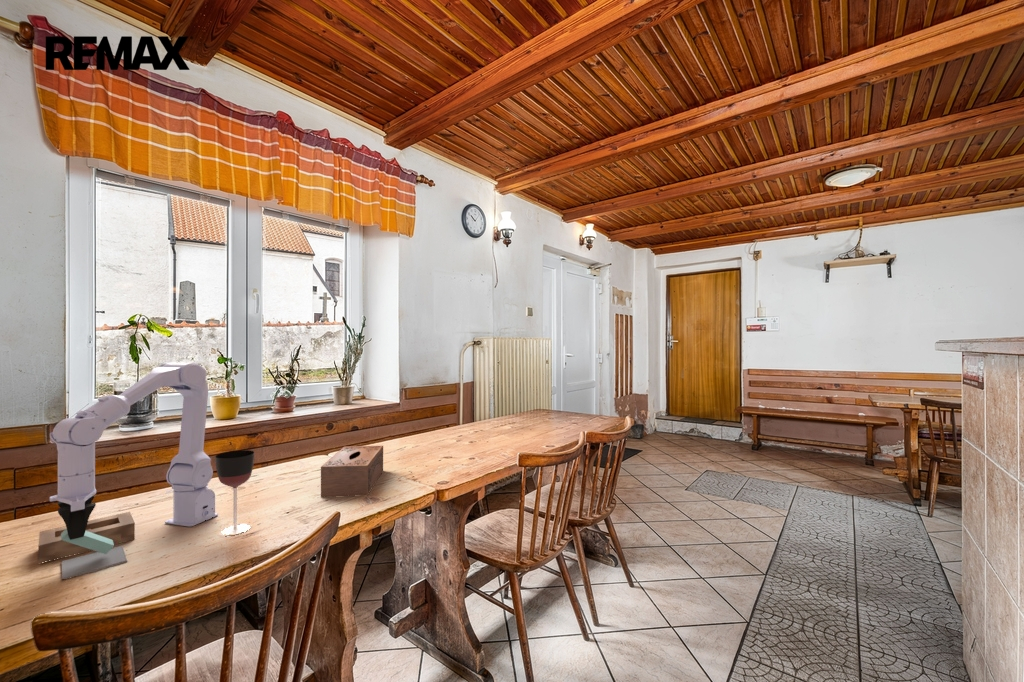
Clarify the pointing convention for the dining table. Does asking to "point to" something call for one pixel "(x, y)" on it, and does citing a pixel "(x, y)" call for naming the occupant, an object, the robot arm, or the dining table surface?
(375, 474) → the tissue box cover
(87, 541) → the teal block
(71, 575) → the grey mat
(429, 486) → the dining table surface
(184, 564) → the dining table surface
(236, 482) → the wineglass
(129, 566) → the dining table surface
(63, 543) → the walnut frame
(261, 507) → the dining table surface
